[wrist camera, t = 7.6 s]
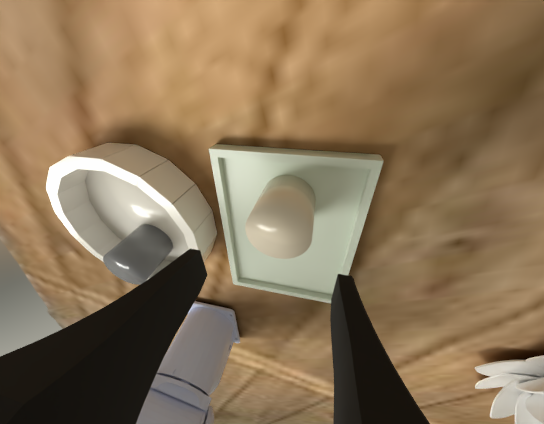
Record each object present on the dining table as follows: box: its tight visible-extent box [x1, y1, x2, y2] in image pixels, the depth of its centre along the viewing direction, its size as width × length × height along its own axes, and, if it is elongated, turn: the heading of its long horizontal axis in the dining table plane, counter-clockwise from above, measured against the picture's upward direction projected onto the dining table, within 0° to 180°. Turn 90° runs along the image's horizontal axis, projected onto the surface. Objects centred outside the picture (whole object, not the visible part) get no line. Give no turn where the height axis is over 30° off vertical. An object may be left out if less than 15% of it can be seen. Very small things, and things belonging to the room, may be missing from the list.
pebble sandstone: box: [245, 175, 316, 259], centre depth 15 cm, size 4×4×4 cm
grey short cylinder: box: [103, 224, 173, 284], centre depth 22 cm, size 4×4×4 cm
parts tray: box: [209, 144, 384, 303], centre depth 19 cm, size 16×12×1 cm
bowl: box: [46, 143, 217, 280], centre depth 21 cm, size 15×15×4 cm
